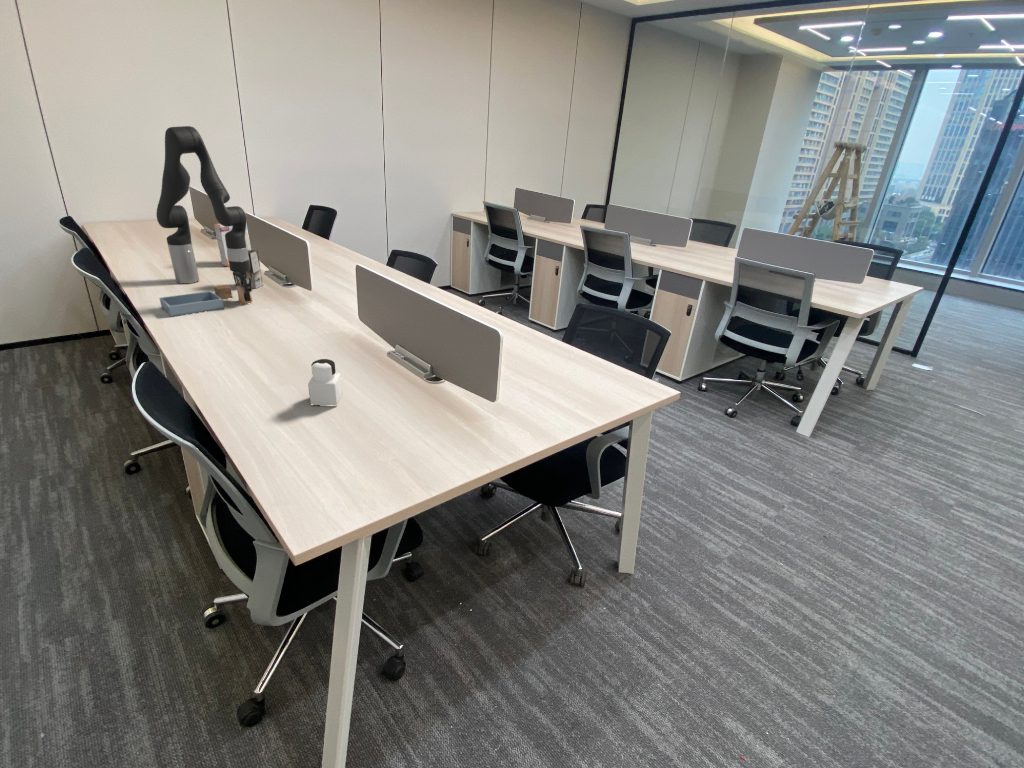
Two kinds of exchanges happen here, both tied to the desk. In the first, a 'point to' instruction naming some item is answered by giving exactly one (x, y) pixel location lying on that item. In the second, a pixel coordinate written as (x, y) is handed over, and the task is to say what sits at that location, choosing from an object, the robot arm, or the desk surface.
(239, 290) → the tan capsule
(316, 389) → the white blocky figurine
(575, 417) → the desk surface
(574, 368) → the desk surface
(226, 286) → the walnut cube
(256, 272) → the coffee box
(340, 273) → the desk surface
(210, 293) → the tote
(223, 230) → the cracker box
